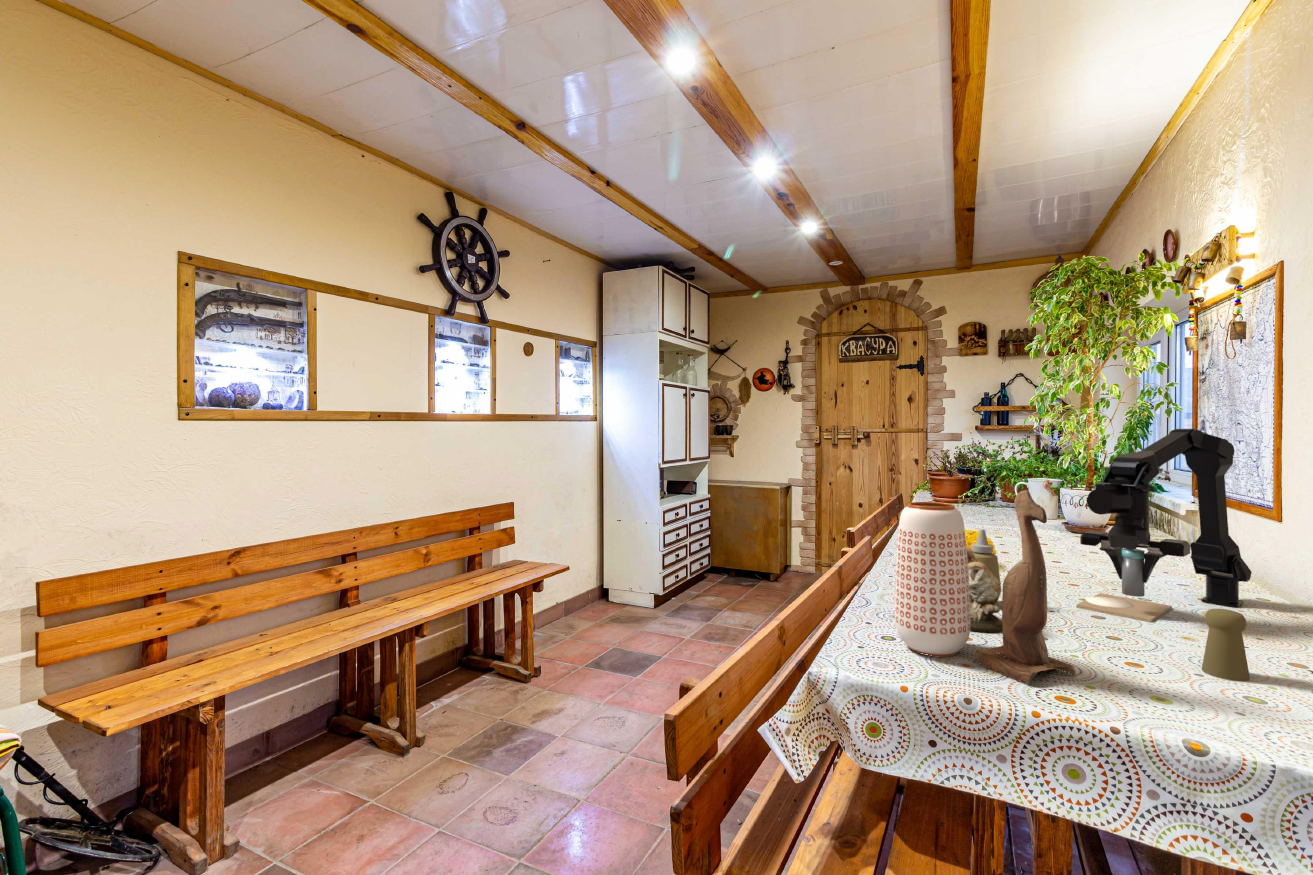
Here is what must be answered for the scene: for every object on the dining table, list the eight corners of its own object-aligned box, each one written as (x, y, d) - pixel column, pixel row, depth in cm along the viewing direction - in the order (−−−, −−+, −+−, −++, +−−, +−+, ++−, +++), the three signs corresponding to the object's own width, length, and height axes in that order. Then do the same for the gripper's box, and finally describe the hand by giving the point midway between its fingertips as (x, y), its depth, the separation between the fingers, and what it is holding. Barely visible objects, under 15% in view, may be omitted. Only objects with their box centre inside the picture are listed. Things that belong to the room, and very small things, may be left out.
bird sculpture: (1034, 690, 97) (1040, 496, 96) (971, 662, 108) (976, 488, 107) (1077, 678, 102) (1083, 493, 101) (1012, 653, 113) (1017, 486, 111)
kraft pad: (1098, 594, 150) (1098, 592, 150) (1172, 608, 139) (1172, 605, 139) (1073, 606, 141) (1073, 603, 141) (1150, 622, 129) (1150, 618, 129)
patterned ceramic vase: (939, 667, 106) (938, 510, 106) (880, 643, 118) (879, 503, 118) (986, 653, 112) (985, 505, 112) (925, 632, 124) (924, 498, 124)
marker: (1124, 590, 137) (1124, 547, 137) (1147, 594, 134) (1147, 550, 134) (1118, 593, 135) (1118, 549, 134) (1141, 597, 131) (1141, 552, 131)
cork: (1260, 682, 98) (1260, 616, 98) (1217, 679, 100) (1217, 614, 100) (1232, 667, 104) (1232, 605, 104) (1192, 665, 106) (1192, 604, 105)
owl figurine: (907, 616, 136) (907, 542, 136) (935, 607, 142) (934, 536, 142) (989, 637, 121) (988, 554, 121) (1015, 626, 128) (1015, 547, 128)
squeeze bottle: (997, 600, 147) (997, 527, 146) (1005, 609, 139) (1004, 533, 139) (961, 597, 149) (960, 526, 149) (966, 606, 142) (966, 531, 142)
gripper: (1071, 511, 137) (1071, 578, 137) (1176, 520, 122) (1176, 595, 122) (1088, 506, 143) (1089, 571, 143) (1190, 515, 128) (1191, 586, 128)
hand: (1133, 580), depth 134 cm, fingers closed on marker, 4 cm apart
